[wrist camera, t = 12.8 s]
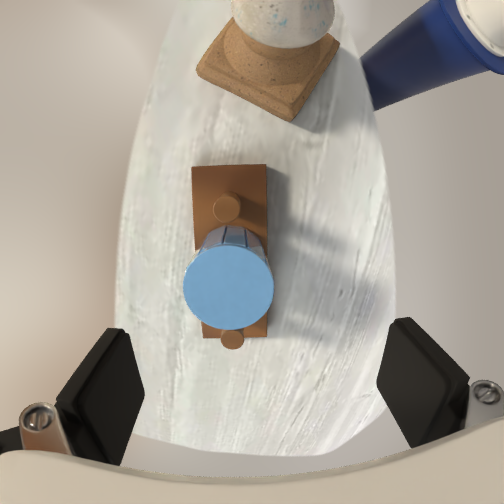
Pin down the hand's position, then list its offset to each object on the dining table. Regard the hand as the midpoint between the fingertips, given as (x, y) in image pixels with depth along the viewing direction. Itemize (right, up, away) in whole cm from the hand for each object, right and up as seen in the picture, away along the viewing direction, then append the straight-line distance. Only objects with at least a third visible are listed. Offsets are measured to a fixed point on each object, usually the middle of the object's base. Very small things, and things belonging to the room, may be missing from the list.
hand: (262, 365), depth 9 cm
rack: (-2, +4, +21) cm, 21 cm away
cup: (-2, +3, +19) cm, 19 cm away
